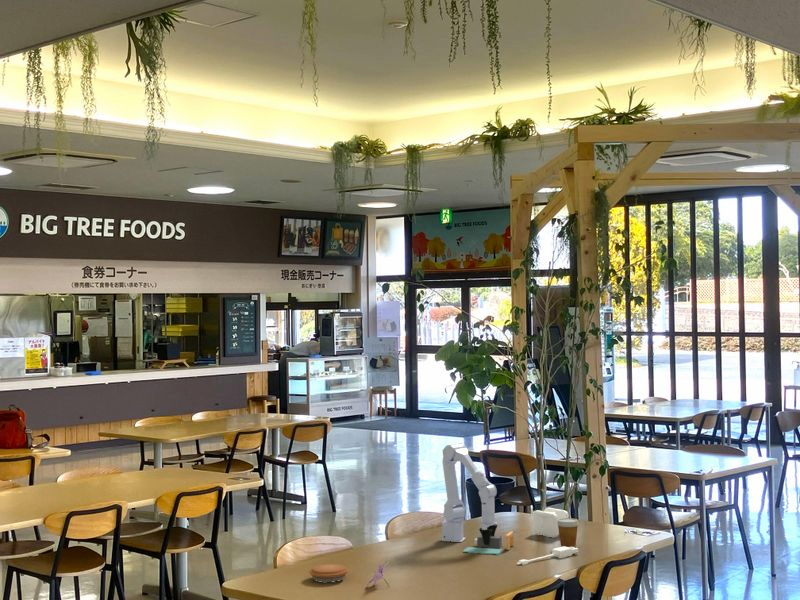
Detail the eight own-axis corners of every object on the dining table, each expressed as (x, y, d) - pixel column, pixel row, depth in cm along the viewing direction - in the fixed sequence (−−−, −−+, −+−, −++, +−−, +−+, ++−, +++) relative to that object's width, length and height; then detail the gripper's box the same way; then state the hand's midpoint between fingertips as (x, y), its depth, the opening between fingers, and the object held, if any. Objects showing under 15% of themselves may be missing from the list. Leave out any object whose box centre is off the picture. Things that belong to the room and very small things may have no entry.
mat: (462, 552, 415) (462, 551, 415) (467, 548, 423) (467, 547, 423) (498, 554, 410) (498, 553, 410) (503, 550, 417) (503, 549, 417)
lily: (390, 583, 371) (378, 561, 372) (405, 577, 362) (393, 554, 363) (367, 599, 363) (355, 576, 365) (383, 593, 354) (370, 570, 356)
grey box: (473, 547, 425) (473, 537, 426) (476, 545, 430) (476, 534, 430) (499, 548, 422) (499, 538, 422) (501, 546, 426) (501, 536, 426)
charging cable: (513, 566, 394) (513, 558, 394) (570, 551, 412) (570, 544, 412) (522, 569, 390) (521, 560, 390) (579, 554, 408) (578, 546, 408)
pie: (328, 572, 386) (328, 560, 386) (356, 578, 376) (356, 565, 376) (300, 580, 374) (300, 567, 374) (329, 587, 364) (329, 573, 364)
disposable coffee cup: (578, 545, 426) (577, 518, 426) (580, 550, 416) (579, 522, 417) (556, 544, 427) (556, 517, 427) (558, 549, 417) (557, 522, 418)
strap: (505, 549, 419) (505, 535, 419) (510, 544, 427) (510, 531, 427) (509, 549, 418) (509, 535, 418) (513, 545, 426) (513, 531, 426)
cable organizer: (570, 536, 444) (570, 511, 444) (555, 539, 437) (554, 514, 438) (546, 531, 456) (546, 506, 456) (531, 534, 449) (530, 509, 449)
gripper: (492, 515, 418) (493, 547, 418) (500, 509, 432) (501, 539, 431) (477, 514, 420) (477, 546, 420) (485, 508, 434) (486, 539, 434)
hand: (488, 542), depth 426 cm, fingers open, 7 cm apart
